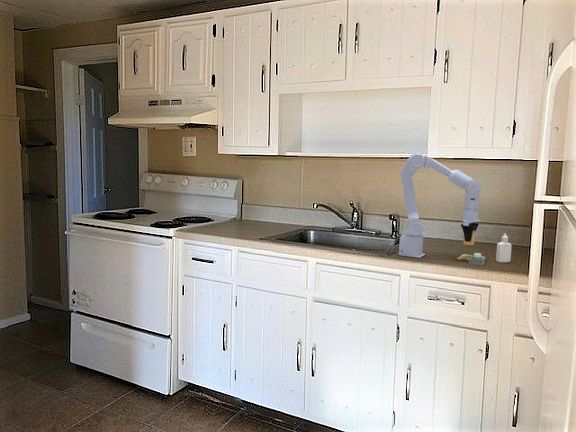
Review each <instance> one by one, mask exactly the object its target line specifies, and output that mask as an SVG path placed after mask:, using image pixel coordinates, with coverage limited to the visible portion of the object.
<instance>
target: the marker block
mask: <svg viewBox="0 0 576 432" xmlns="http://www.w3.org/2000/svg"><path fill="white" fill-rule="evenodd" d="M475 236H476V231H473V234H472V238H471V241H470V242H467V241H465V238H464V237H463V243H462V244H463V245H468V246H473V245H475Z"/></svg>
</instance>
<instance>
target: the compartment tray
mask: <svg viewBox="0 0 576 432" xmlns="http://www.w3.org/2000/svg"><path fill="white" fill-rule="evenodd" d="M472 256H474V254H466V253H465V254H464V253H463V254H461V255H459V256H458V257H456V260H458V261H463V262H464V261H466V262H469V258H470V257H472ZM481 257H484V258H485V260H486V259H487V257H486V256H482V255H481Z"/></svg>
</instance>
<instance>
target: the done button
mask: <svg viewBox="0 0 576 432" xmlns="http://www.w3.org/2000/svg"><path fill="white" fill-rule="evenodd" d="M473 255H474V258H475V259H481V256H482V253H480V252H474V253H473Z"/></svg>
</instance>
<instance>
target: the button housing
mask: <svg viewBox="0 0 576 432" xmlns="http://www.w3.org/2000/svg"><path fill="white" fill-rule="evenodd" d="M484 257H485V256H482V257H481V259H475V258H474V256H472V257H470V258H469V261H468V265H474V266H484V265H485V264H486V259H485V258H484Z"/></svg>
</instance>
